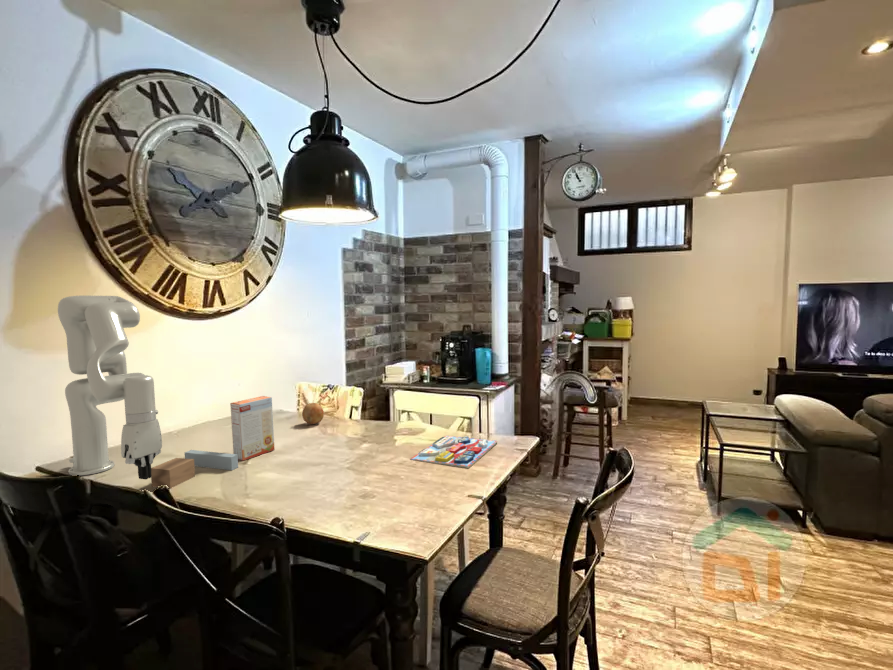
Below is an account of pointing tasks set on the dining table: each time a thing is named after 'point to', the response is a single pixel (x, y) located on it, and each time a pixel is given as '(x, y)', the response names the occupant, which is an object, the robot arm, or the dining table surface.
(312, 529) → the dining table surface
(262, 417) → the cracker box
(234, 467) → the batten
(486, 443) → the puzzle board
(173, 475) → the walnut block
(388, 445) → the dining table surface
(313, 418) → the onion
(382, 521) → the dining table surface
